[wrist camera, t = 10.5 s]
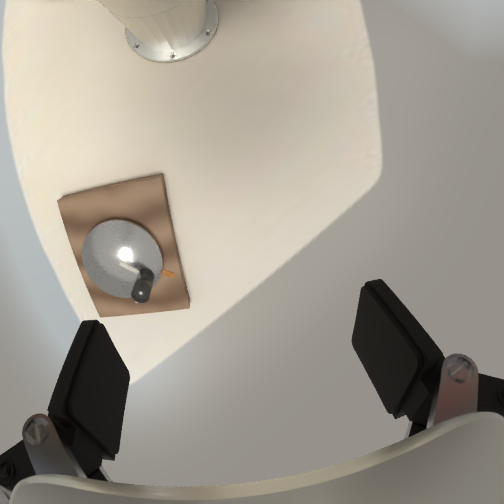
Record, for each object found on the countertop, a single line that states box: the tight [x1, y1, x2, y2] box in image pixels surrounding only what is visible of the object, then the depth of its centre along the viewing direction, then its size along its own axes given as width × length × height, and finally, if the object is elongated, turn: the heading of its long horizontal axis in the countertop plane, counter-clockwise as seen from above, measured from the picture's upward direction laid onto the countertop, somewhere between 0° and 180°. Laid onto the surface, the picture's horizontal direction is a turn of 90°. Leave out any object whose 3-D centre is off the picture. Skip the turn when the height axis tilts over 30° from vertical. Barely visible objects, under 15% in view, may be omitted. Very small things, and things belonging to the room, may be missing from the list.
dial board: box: [57, 174, 190, 317], centre depth 41 cm, size 22×17×2 cm
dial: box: [82, 218, 163, 303], centre depth 37 cm, size 13×13×6 cm
